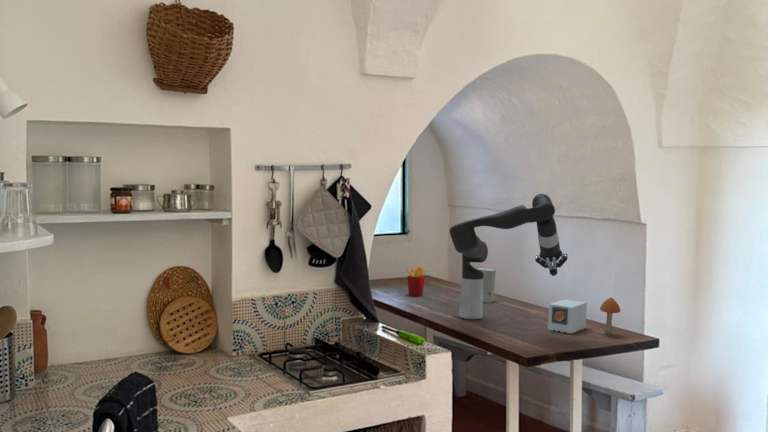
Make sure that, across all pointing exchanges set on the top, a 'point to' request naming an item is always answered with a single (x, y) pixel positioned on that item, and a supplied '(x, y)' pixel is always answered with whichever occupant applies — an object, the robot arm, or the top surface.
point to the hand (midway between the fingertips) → (553, 274)
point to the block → (568, 316)
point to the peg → (560, 315)
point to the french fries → (416, 282)
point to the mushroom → (609, 313)
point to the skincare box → (488, 284)
